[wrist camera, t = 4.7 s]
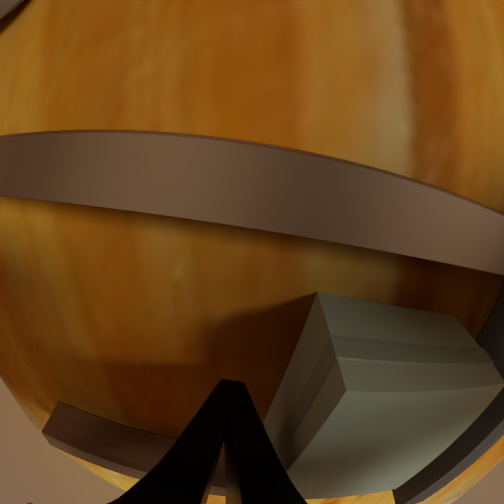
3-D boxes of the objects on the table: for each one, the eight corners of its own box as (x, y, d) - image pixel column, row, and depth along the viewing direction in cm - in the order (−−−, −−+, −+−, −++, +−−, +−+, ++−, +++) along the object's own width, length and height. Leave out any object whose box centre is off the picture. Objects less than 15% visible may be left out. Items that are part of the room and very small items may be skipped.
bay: (546, 228, 7) (605, 266, 4) (408, 455, 14) (422, 501, 10) (4, 128, 7) (-79, 145, 3) (67, 417, 13) (43, 464, 9)
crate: (455, 313, 9) (507, 381, 5) (378, 425, 12) (396, 489, 8) (316, 289, 9) (344, 388, 5) (262, 420, 12) (260, 498, 8)
